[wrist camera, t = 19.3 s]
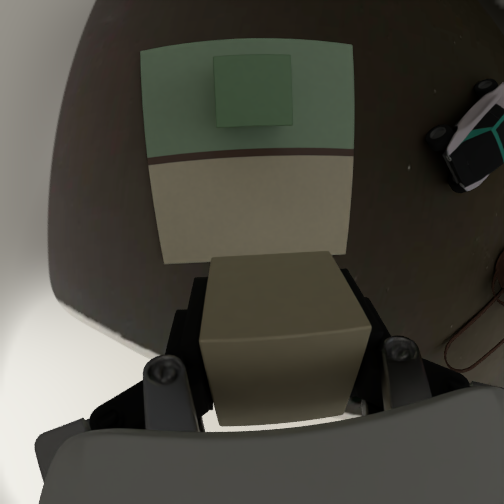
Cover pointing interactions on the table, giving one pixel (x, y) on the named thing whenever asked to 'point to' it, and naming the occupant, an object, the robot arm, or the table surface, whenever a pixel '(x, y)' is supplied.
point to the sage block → (253, 90)
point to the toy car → (473, 139)
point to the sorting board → (249, 154)
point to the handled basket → (503, 276)
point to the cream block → (280, 338)
